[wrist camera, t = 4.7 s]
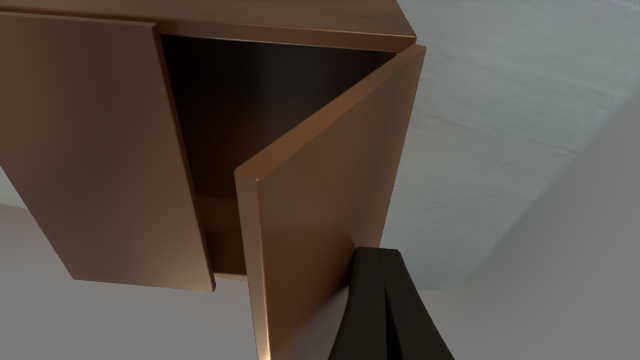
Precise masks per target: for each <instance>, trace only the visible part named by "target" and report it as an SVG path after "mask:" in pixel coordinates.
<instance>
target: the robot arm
mask: <svg viewBox="0 0 640 360" xmlns="http://www.w3.org/2000/svg"><path fill="white" fill-rule="evenodd" d="M328 360H455V359H454V358H453V356H452V354H451V352H450V351H449V349H448V347H447V346H446V344H445V342H444V341H443V339H442V338H441V336H440V334H439V332H438V330H437V328H436V327H435V325H434V323H433V321H432V319H431V317H430V315H429V314H428V312H427V310H426V308H425V306H424V304H423V302H422V301H421V298H420V296H419V294H418V292H417V290H416V288H415V286H414V284H413V282H412V279H411V277H410V275H409V273H408V270H407V268H406V266H405V263H404V261H403V258H402V256H401V253H400V252H399V251H398V250H396V249H385V248H373V247H362V246H359V247H357V248H355V253H354V258H353V264H352V270H351V275H350V281H349V288H348V300H347V304H346V307H345V311H344V314H343V317H342V320H341V323H340V326H339V329H338V332H337V335H336V338H335V341H334V344H333V346H332V349H331V352H330V354H329V357H328Z"/></svg>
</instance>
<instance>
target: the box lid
mask: <svg viewBox="0 0 640 360" xmlns="http://www.w3.org/2000/svg"><path fill="white" fill-rule="evenodd" d="M425 52H426V47H425V46H420V45H415V44H413V45H411V46H410V47H408V48H407V49H405V50H404V51H402V52H401V53H400V54H398V55H397V56H395V57H394V58H392V59H391V60H390V61H388V62H387V63H385V64H384V65H382V66H381V67H380V68H378V69H377V70H375V71H374V72H372V73H371V74H370V75H368V76H367V77H365V78H364V79H362V80H361V81H360V82H358V83H357V84H355V85H354V86H352V87H351V88H350V89H348V90H347V91H345V92H344V93H343V94H341V95H340V96H338V97H337V98H335V99H334V100H333V101H331V102H330V103H328V104H327V105H325V106H324V107H323V108H321V109H320V110H318V111H317V112H315V113H314V114H313V115H311V116H310V117H308V118H307V119H305V120H304V121H303V122H301V123H300V124H298V125H297V126H295V127H294V128H293V129H291V130H290V131H288V132H287V133H285V134H284V135H283V136H281V137H280V138H278V139H277V140H275V141H274V142H273V143H271V144H270V145H268V146H267V147H265V148H264V149H263V150H261V151H260V152H258V153H257V154H256V155H254V156H253V157H251V158H250V159H248V160H247V161H246V162H244V163H243V164H241V165H240V166H238V167H237V168H236V169H235V170H234V176H235V184H236V192H237V200H238V208H239V216H240V223H241V231H242V239H243V247H244V255H245V263H246V271H247V278H248V286H249V294H250V301H251V310H252V318H253V326H254V333H255V341H256V349H257V357H258V360H328V357H329V354H330V352H331V349H332V346H333V344H334V341H335V338H336V335H337V332H338V329H339V326H340V323H341V320H342V317H343V314H344V311H345V307H346V304H347V300H348V288H349V281H350V275H351V270H352V264H353V258H354V253H355V248H357V247H359V246H362V247H373V248H379V245H380V241H381V237H382V233H383V229H384V224H385V220H386V216H387V212H388V208H389V203H390V199H391V195H392V191H393V187H394V182H395V178H396V174H397V170H398V166H399V162H400V157H401V153H402V149H403V145H404V141H405V136H406V132H407V128H408V124H409V120H410V115H411V111H412V107H413V103H414V99H415V94H416V90H417V86H418V82H419V78H420V73H421V69H422V65H423V61H424V57H425Z"/></svg>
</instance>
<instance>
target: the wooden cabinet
mask: <svg viewBox="0 0 640 360" xmlns="http://www.w3.org/2000/svg"><path fill="white" fill-rule="evenodd" d="M416 39H417V37H416V35H415V33H414V31H413V29H412V28H411V26H410V24H409V22H408V21H407V19H406V17H405V15H404V14H403V12H402V10H401V8H400V7H399V5H398V3H397V1H396V0H0V166H1V167H2V169H3V170H4V172H5V174H6V175H7V177H8V178H9V180H10V181H11V183H12V184H13V186H14V188H15V189H16V191H17V192H18V194H19V195H20V197H21V198H22V200H23V202H24V203H25V205H26V206H27V208H28V209H29V211H30V213H31V214H32V216H33V217H34V219H35V220H36V222H37V223H38V225H39V227H40V228H41V230H42V231H43V233H44V234H45V236H46V237H47V239H48V240H49V242H50V244H51V245H52V247H53V248H54V250H55V251H56V253H57V254H58V256H59V258H60V259H61V261H62V262H63V263H64V265H65V267H66V269H67V270H68V272H69V273H70V275H71V276H72V278H73V279H75V280H87V281H97V282H108V283H119V284H131V285H142V286H152V287H163V288H175V289H185V290H197V291H207V292H214V290H215V288H216V283H215V278H218V279H229V280H240V281H248V278H247V271H246V263H245V255H244V247H243V239H242V231H241V223H240V216H239V208H238V200H237V192H236V184H235V176H234V170H235V169H236V168H237V167H238V166H240V165H241V164H243V163H244V162H246V161H247V160H248V159H250V158H251V157H253V156H254V155H256V154H257V153H258V152H260V151H261V150H263V149H264V148H265V147H267V146H268V145H270V144H271V143H273V142H274V141H275V140H277V139H278V138H280V137H281V136H283V135H284V134H285V133H287V132H288V131H290V130H291V129H293V128H294V127H295V126H297V125H298V124H300V123H301V122H303V121H304V120H305V119H307V118H308V117H310V116H311V115H313V114H314V113H315V112H317V111H318V110H320V109H321V108H323V107H324V106H325V105H327V104H328V103H330V102H331V101H333V100H334V99H335V98H337V97H338V96H340V95H341V94H343V93H344V92H345V91H347V90H348V89H350V88H351V87H352V86H354V85H355V84H357V83H358V82H360V81H361V80H362V79H364V78H365V77H367V76H368V75H370V74H371V73H372V72H374V71H375V70H377V69H378V68H380V67H381V66H382V65H384V64H385V63H387V62H388V61H390V60H391V59H392V58H394V57H395V56H397V55H398V54H400V53H401V52H402V51H404V50H405V49H407V48H408V47H410V46H411V45H413V44H415V43H416Z"/></svg>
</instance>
